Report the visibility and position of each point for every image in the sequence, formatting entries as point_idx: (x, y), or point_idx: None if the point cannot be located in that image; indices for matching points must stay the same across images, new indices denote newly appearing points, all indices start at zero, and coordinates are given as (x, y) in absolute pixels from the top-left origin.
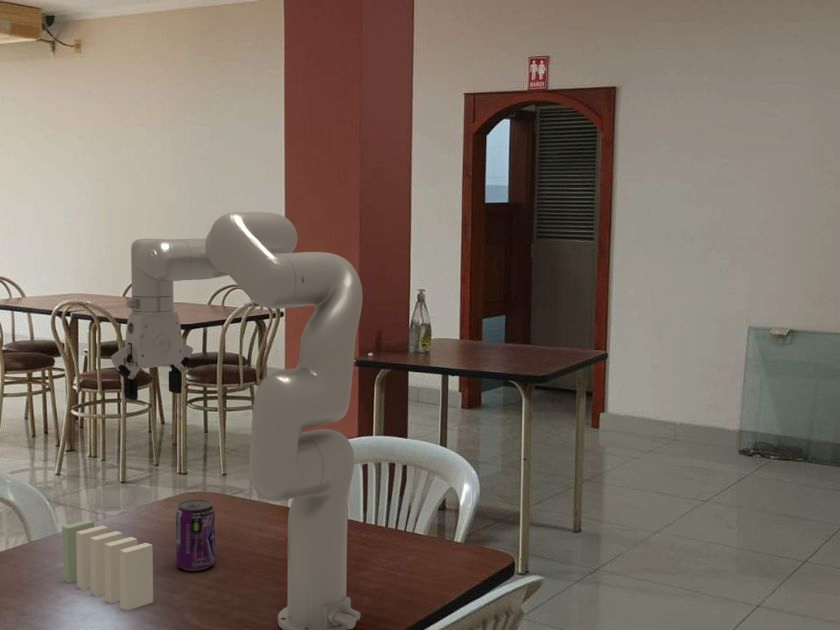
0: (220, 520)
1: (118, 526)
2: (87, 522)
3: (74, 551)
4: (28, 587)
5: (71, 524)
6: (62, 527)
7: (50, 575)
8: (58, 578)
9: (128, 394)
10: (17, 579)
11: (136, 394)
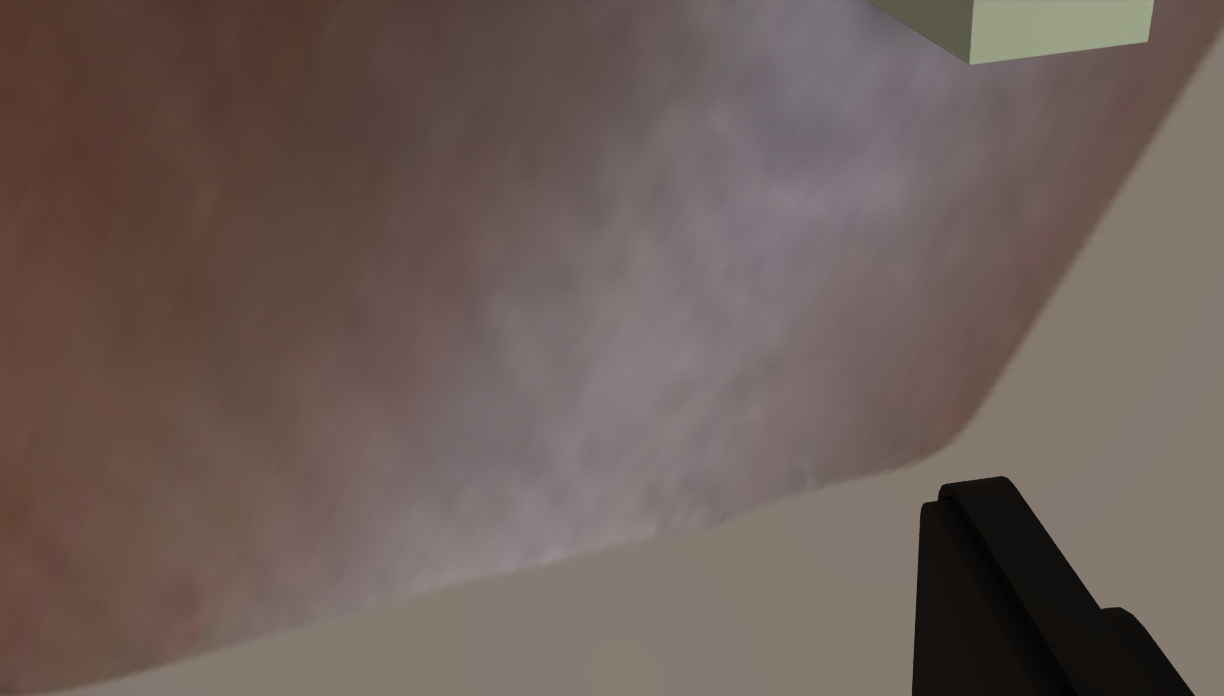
0: (3, 314)
1: (469, 486)
2: (1007, 16)
3: None
4: None
5: (1093, 39)
6: (1142, 40)
7: (1000, 89)
8: None
9: (1122, 619)
10: (1117, 131)
11: (1013, 542)
